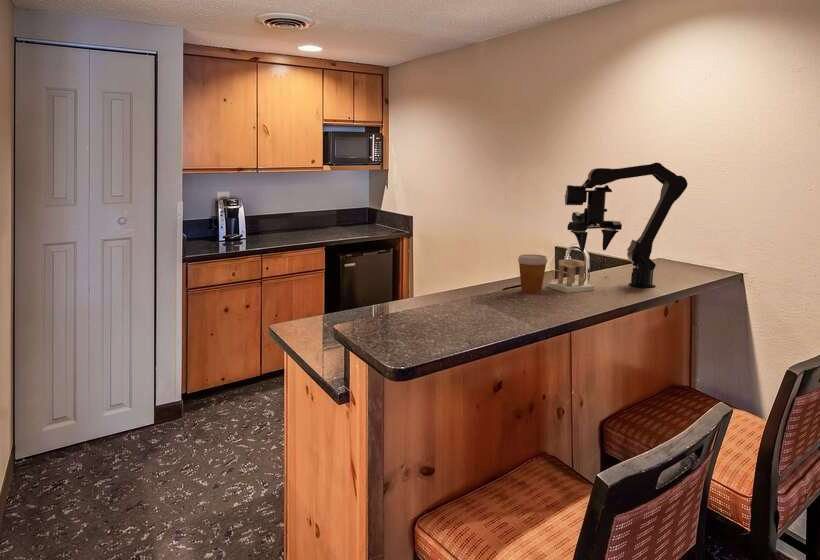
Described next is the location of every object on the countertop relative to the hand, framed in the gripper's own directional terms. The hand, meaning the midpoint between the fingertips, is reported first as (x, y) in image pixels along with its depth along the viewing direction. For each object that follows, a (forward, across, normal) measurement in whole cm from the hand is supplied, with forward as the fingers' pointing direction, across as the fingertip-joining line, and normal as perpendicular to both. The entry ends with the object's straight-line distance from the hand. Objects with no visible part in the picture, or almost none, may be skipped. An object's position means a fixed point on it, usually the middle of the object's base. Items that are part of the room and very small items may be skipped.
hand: (593, 250), depth 197 cm
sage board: (+12, +11, +3) cm, 17 cm away
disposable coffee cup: (+12, +27, +4) cm, 30 cm away
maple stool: (+10, +11, +3) cm, 15 cm away
